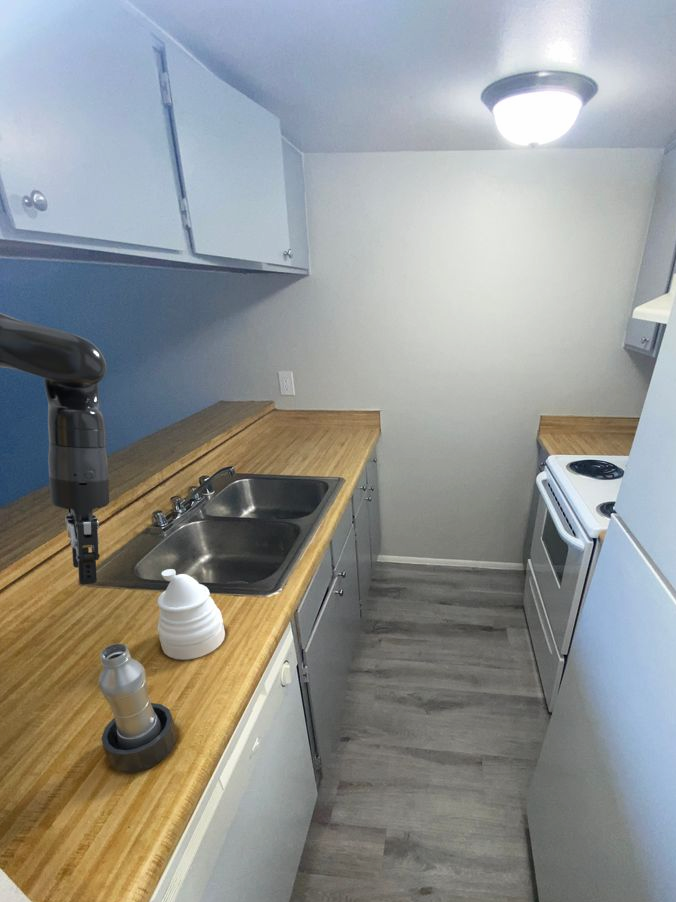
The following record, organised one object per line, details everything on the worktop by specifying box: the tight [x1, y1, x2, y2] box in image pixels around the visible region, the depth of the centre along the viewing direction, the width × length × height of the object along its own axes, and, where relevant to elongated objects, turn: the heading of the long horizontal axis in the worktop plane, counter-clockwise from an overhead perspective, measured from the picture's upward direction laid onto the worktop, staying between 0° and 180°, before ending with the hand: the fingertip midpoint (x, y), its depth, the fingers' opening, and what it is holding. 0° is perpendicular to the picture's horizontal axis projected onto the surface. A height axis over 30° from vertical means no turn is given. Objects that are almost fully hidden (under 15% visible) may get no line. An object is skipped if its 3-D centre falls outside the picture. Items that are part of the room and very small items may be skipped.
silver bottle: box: [98, 643, 162, 750], centre depth 75 cm, size 6×7×20 cm
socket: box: [100, 702, 178, 774], centre depth 79 cm, size 10×10×4 cm
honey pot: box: [157, 568, 226, 661], centre depth 100 cm, size 13×13×18 cm
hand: (84, 574), depth 76 cm, fingers open, 8 cm apart
